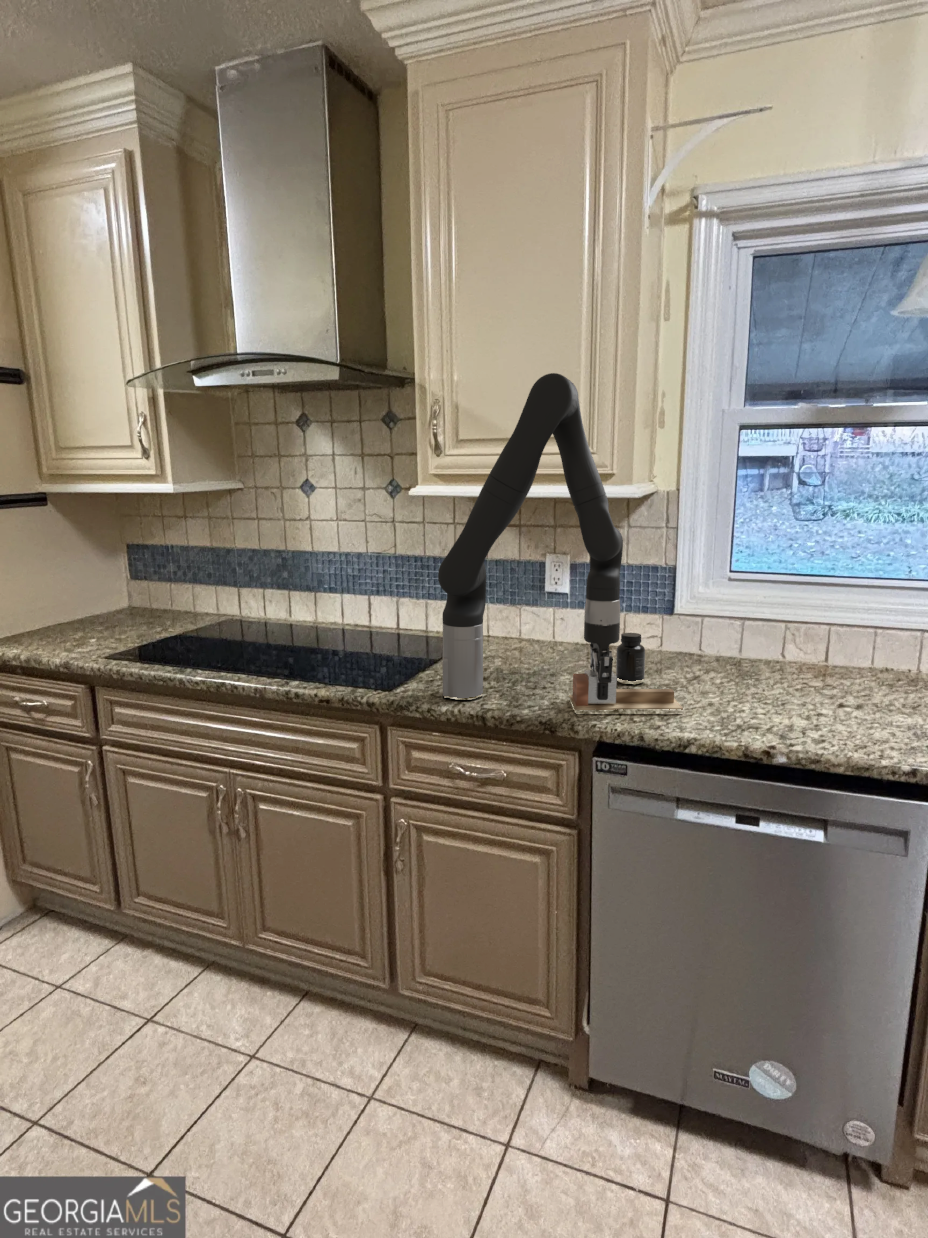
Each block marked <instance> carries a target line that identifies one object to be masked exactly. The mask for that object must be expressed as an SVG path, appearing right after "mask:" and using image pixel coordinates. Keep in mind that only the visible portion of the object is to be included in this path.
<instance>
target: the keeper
mask: <svg viewBox="0 0 928 1238" xmlns="http://www.w3.org/2000/svg"><path fill="white" fill-rule="evenodd" d="M584 674H585V675H586V677H587V679H588V681H589V690H588V704H616V689H617V683H618V682H617V676H616V673H615V672H614V671H613V670H612V678H611V679H612V681H611V683H608V699H607V700H598V698H597V673H596V672H595V671H594V670H592V669H584ZM602 677H606V673H603V674H602Z"/></svg>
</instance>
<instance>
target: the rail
mask: <svg viewBox="0 0 928 1238" xmlns="http://www.w3.org/2000/svg"><path fill="white" fill-rule="evenodd" d="M588 690H589V681H588V679H587V677H586V675H585V672H584V673H573V674H572V694H570V695H569V694H568V695H569V696H568V697H570V700H571V702H572V704H573V706H574V709H575V710H595V709H596V710H615V709H616V710H617V709H618V710H619V709H623V710H624V709H669V710H670V709H676V710H677V709H681V710H683V711H684V707H683V706H682V705H681V704H680V703H679V702H678V700H677V699H676V698H675V691H674V689H673V688H628V689H627V688H616V704H588Z"/></svg>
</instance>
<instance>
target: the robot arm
mask: <svg viewBox="0 0 928 1238" xmlns="http://www.w3.org/2000/svg"><path fill="white" fill-rule="evenodd" d="M517 421H518V422H517V423H516V426H515V428H514V429H513V431H512V434H511V435H510V436H509V437H510V438H509V439H508V441H507V442H506V443H505V446H504V447H503V448H502V450H501V452H500V454H499V456H498V457H497V459H496V461H495V463H494V465H493V467H492V469H491V471H490V472H489V474H488V476H487V477H486V480H485V482H484V483H483V486H482V487H481V490H480V492H479V494H478V497H477V498H476V501H475V503H474V505H473V506H472V509H471V511H470V513H469V515H468V518H467V519H466V522H465V525H464V527H463V529H462V530H461V532H460V534H459V536H458V537H457V539H456V541H455V542H454V544H453V545H452V547H451V548H450V550H448V551H449V552H448V553H447V554H446V556H445V557H444V558H443V560H442V562H441V564H440V565H439V568H438V574H437V579H438V584H439V586H440V588H441V589H442V591H443V592H444V593H446V602H445V606H444V608H443V611H442V697H443V696H450V697H457V698H469V697H475V696H478V695H481V694H482V693H483V694H484V614H485V610H486V603H487V602H486V601H487V600H486V599H487V598H486V597H487V570H486V566H485V560H486V558H487V557H488V554H489V552H490V550H491V549H492V547H493V545H494V544H495V542H496V541H497V540H498V539H499V537H500V536H501V535H502V534H503V532H504V531H505V530H506V529H507V528H508V526H509V525H510V523H512V521H513V520H514V518H515V517H516V515H517V514H518V512H519V510H520V509H521V507H522V506H523V503H524V502H525V500H526V498H527V496H528V494H529V492H530V491H531V488H532V486H533V483H534V481H535V478H536V474H537V471H538V468H539V464H540V461H541V457H542V455H543V452H544V449H545V448H546V446H547V444H548V442H549V440H550V438H551V437H552V436H553V437H554V440H555V443H556V445H557V448H558V453H559V455H560V460H561V464H562V469H563V476H564V479H565V483H566V486H567V489H568V493H569V496H570V499H571V503H572V505H573V507H574V510H575V512H576V515H577V518H578V523H579V528H580V533H581V538H582V541H583V544H584V547H585V550H586V552H587V553H588V556H589V557H590V559H589V571H588V575H587V578H586V584H585V585H586V587H585V588H586V589H585V590H586V591H585V593H586V595H585V597H586V598H585V605H584V619H583V620H584V622H583V624H584V625H583V627H584V628H583V639H584V641H585V642H587V643H589V646H590V651H589V652H590V655H589V656H590V659H589V660H590V665H589V667H590V670H594V671H595V672H596V673H597V698H598V700H607V699H608V683H611V681H612V679H611V678H612V671H613V661H614V657H613V652H612V650H611V649H610V645H614V644H617V643H618V642H620V635H621V634H620V632H621V631H620V629H621V627H620V626H621V602H620V601H621V600H620V598H621V597H620V596H621V593H620V591H621V579H620V578H621V573H620V572H621V566H622V561H623V559H622V558H623V551H624V549H623V548H624V540H623V536H622V533H621V531H620V530H619V529H618V528H617V527H615V525H614V523H613V520H612V517H611V513H610V512H609V506H610V505H609V500H608V496H607V493H606V490H605V487H604V484H603V482H602V479H601V476H600V473H599V471H598V468H597V466H596V462H595V459H594V457H593V454H592V452H591V449H590V446H589V442H588V440H587V435H586V432H585V428H584V424H583V418H582V413H581V407H580V400H579V392H578V389H577V387H576V385H575V384H574V383H573V381H571V380H570V379H568V377H566V376H565V375H562V374H560V373H557V372H552V373H547V374H544V375H542V376H541V377H539V378H538V379H537V380H536V381H535V383H533V385H532V387H531V388H530V390H529V393H528V396H527V398H526V400H525V404H524V406H523V408H522V412H521V414H520V416H519V418H518V420H517ZM603 673H606V677H602V674H603Z"/></svg>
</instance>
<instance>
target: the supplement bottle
mask: <svg viewBox="0 0 928 1238" xmlns="http://www.w3.org/2000/svg"><path fill="white" fill-rule="evenodd" d="M620 636H621V637H620V642H621V643H620V644H619V645H618V646H617V647H616V658H615V659H616V660H615V661H616V663H615V665H616V667H615V669H616V670H615V675H616V676H617V678H619V679H622V680H628V681H636V680H642V679H644V680H645V668H646V666H645V665H646V648H645V647H644V646H643V645H642V644H641V643H642V634H641V633H637V632H624V633H623V632H622V633H621V634H620Z"/></svg>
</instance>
